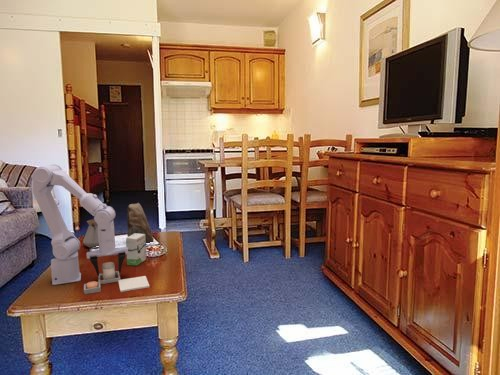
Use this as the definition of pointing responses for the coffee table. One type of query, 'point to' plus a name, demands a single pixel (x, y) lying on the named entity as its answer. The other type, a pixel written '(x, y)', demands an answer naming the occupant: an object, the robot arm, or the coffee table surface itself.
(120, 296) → the coffee table surface
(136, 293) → the coffee table surface
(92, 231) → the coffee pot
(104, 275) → the cartridge
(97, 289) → the dock
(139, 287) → the mat
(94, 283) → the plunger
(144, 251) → the ink box
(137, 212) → the brown tapered rock
